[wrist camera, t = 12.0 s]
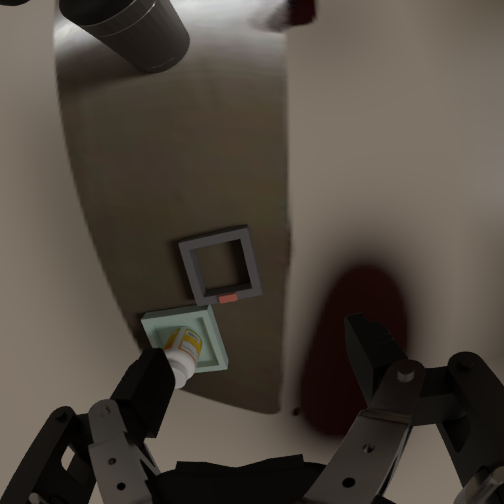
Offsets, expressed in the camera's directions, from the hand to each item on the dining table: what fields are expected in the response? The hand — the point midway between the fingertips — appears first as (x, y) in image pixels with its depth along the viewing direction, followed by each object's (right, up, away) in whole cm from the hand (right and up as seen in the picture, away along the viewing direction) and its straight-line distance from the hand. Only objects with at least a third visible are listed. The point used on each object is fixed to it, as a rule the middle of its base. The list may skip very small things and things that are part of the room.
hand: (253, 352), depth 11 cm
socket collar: (-4, +3, +29) cm, 29 cm away
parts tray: (-10, -10, +32) cm, 35 cm away
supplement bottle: (-10, -10, +32) cm, 35 cm away
